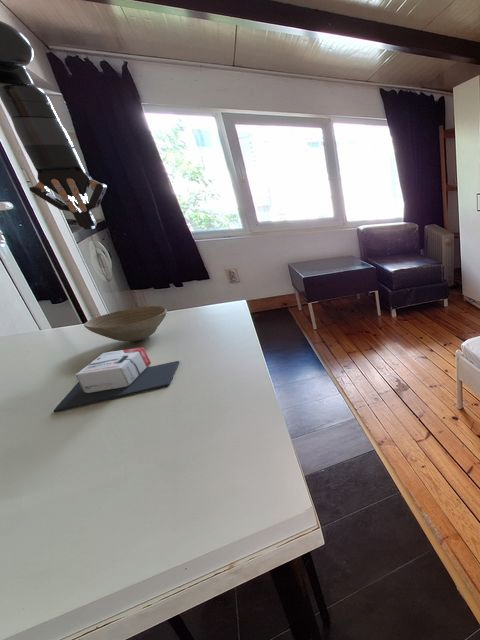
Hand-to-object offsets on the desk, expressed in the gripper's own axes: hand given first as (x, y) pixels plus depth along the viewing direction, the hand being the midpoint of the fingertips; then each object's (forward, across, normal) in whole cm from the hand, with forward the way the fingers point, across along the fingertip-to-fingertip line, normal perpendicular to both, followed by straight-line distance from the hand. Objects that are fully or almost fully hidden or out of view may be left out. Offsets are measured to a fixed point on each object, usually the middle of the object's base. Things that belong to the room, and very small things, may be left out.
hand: (90, 228), depth 85 cm
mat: (+33, -2, -18) cm, 37 cm away
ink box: (+30, -2, -8) cm, 31 cm away
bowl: (+33, -6, +14) cm, 37 cm away
